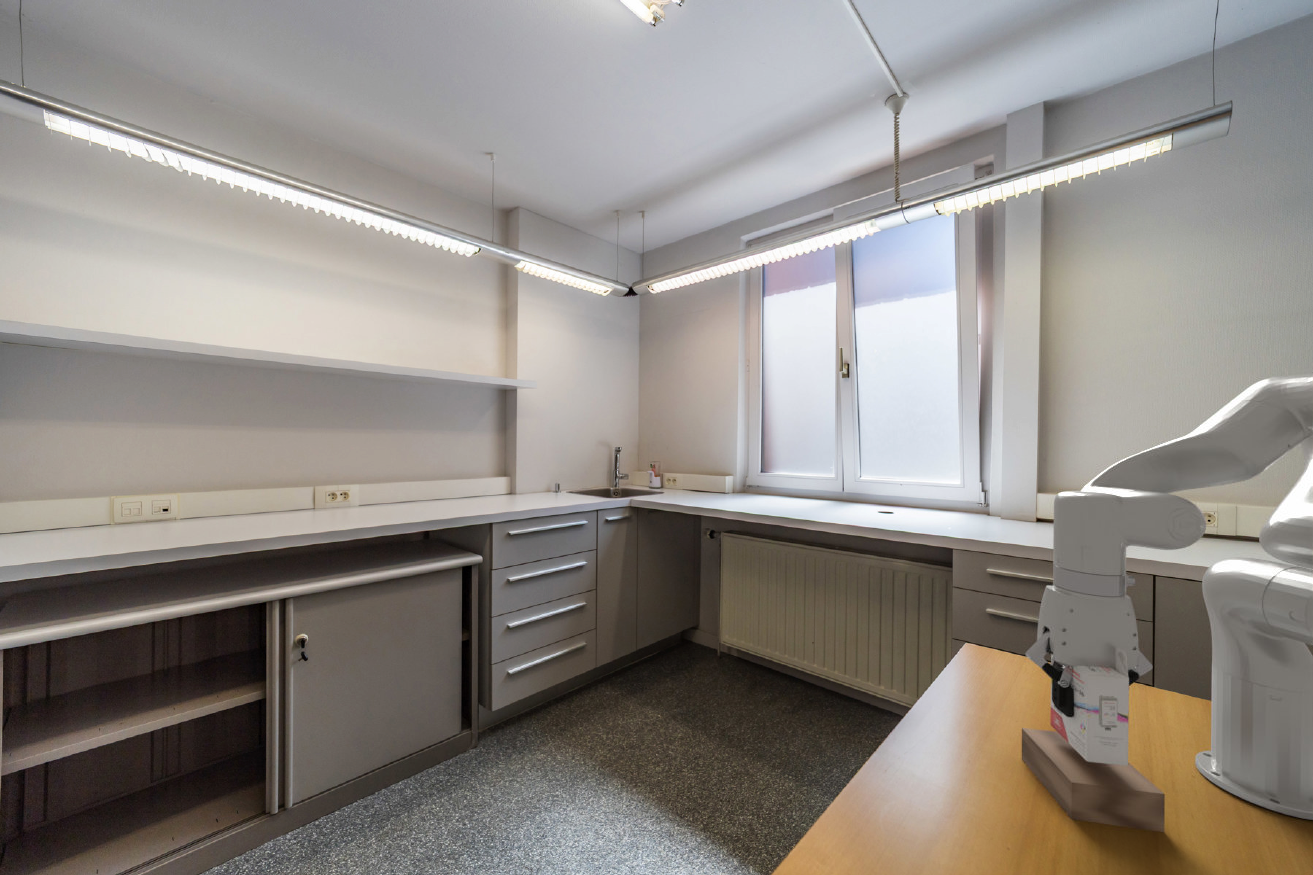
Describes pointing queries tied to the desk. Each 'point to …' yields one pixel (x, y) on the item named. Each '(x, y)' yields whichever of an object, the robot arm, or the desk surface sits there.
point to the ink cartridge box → (1097, 713)
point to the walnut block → (1092, 784)
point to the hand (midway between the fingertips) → (1086, 712)
